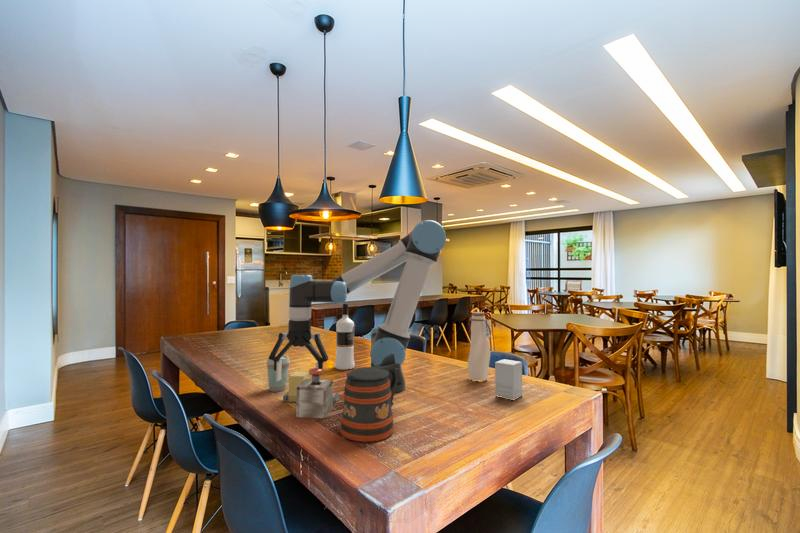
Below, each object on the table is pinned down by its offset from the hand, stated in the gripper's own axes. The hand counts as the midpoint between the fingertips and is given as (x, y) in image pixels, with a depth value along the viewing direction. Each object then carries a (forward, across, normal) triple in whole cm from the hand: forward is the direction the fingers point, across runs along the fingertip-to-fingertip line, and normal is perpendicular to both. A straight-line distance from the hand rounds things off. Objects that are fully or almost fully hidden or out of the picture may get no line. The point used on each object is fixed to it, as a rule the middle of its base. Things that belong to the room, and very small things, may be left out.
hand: (297, 381), depth 132 cm
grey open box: (+6, -9, +12) cm, 16 cm away
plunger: (-2, -9, +11) cm, 15 cm away
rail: (+6, -5, 0) cm, 8 cm away
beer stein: (+6, -29, +23) cm, 37 cm away
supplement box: (+6, -74, -10) cm, 75 cm away
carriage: (+6, 0, 0) cm, 6 cm away
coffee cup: (+7, +11, -11) cm, 17 cm away
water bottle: (+6, -67, -32) cm, 74 cm away
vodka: (+6, -7, -47) cm, 48 cm away
